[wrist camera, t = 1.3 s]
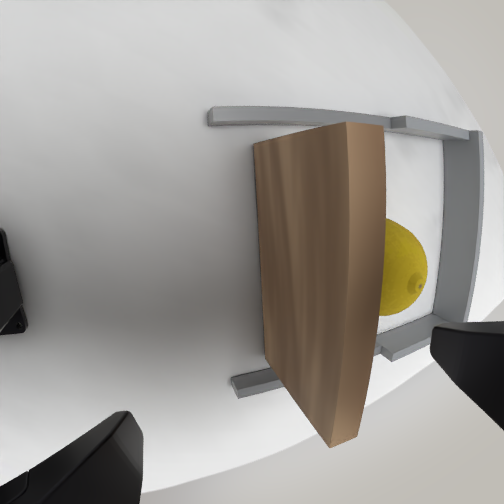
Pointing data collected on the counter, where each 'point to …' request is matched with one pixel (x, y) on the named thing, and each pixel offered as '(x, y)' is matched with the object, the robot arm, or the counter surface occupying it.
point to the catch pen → (454, 221)
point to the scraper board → (323, 266)
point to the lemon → (401, 269)
